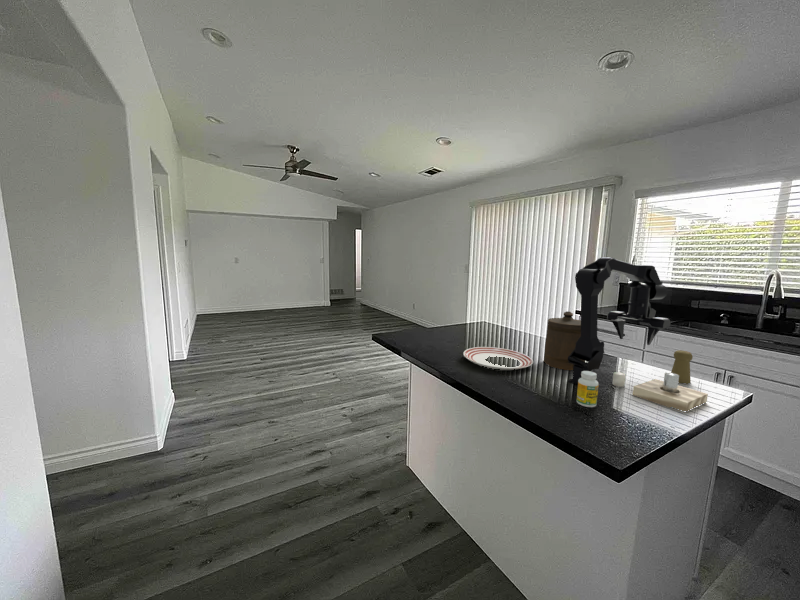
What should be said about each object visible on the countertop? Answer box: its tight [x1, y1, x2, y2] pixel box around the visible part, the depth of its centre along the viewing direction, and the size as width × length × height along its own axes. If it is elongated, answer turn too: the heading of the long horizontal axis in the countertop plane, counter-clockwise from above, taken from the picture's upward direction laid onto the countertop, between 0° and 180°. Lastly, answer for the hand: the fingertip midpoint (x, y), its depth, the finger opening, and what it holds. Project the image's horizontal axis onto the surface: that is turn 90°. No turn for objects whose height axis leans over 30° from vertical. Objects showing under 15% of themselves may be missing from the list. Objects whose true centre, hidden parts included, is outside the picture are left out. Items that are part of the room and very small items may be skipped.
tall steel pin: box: [663, 372, 679, 393], centre depth 106 cm, size 4×4×8 cm
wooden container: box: [543, 311, 586, 371], centre depth 138 cm, size 15×15×22 cm
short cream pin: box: [611, 371, 626, 388], centre depth 118 cm, size 4×4×4 cm
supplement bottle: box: [576, 371, 599, 408], centre depth 101 cm, size 5×5×10 cm
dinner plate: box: [462, 346, 534, 371], centre depth 140 cm, size 28×27×3 cm
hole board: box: [632, 378, 709, 412], centre depth 107 cm, size 14×14×3 cm
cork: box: [670, 349, 693, 385], centre depth 123 cm, size 6×6×11 cm
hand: (634, 341), depth 126 cm, fingers open, 9 cm apart
